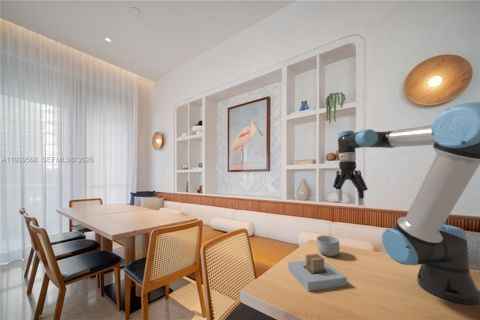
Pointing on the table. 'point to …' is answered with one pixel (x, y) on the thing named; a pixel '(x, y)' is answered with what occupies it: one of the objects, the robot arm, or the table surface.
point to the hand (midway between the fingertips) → (349, 203)
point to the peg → (315, 264)
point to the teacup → (328, 245)
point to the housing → (317, 276)
